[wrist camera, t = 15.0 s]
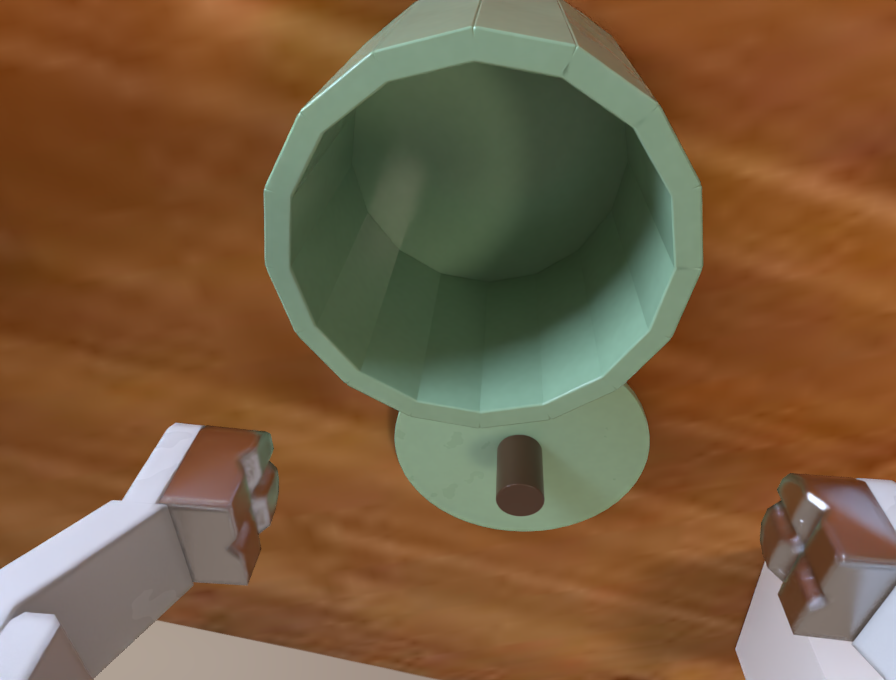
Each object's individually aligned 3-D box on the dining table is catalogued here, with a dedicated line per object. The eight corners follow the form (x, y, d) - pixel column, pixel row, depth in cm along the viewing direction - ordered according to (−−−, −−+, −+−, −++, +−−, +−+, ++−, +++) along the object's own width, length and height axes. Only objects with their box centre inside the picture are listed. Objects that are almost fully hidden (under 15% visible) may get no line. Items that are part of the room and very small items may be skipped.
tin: (290, 198, 28) (205, 314, 20) (434, -97, 21) (390, -91, 14) (524, 332, 31) (527, 477, 23) (713, 110, 24) (807, 210, 17)
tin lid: (356, 453, 37) (338, 518, 33) (484, 286, 30) (479, 344, 26) (545, 544, 40) (548, 612, 36) (701, 413, 33) (726, 481, 29)
